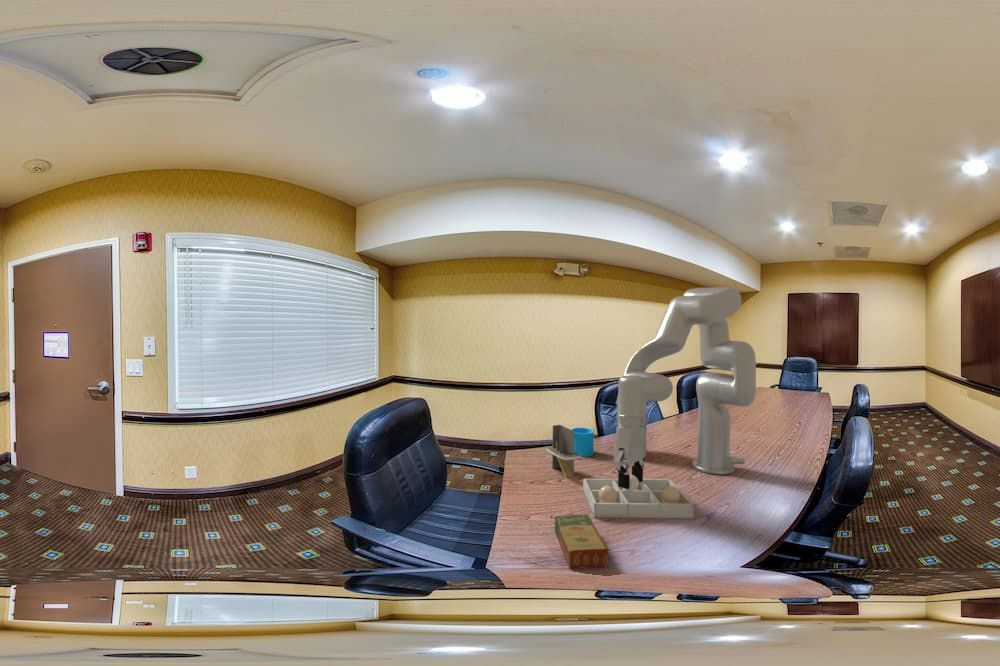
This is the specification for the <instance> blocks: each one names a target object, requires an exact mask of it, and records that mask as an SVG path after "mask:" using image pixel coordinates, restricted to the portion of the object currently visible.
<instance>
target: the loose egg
mask: <svg viewBox="0 0 1000 666" xmlns="http://www.w3.org/2000/svg"><path fill="white" fill-rule="evenodd" d="M628 474H629V473H628ZM629 475H630V488H629V489H625V488H623V490H638V487H639V480H638V479H637V477H636V476H634V475H632V473H631V474H629Z"/></svg>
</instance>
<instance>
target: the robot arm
mask: <svg viewBox="0 0 1000 666" xmlns="http://www.w3.org/2000/svg"><path fill="white" fill-rule="evenodd" d="M741 305H742V296H741V294H740V292H739V290H737V289H736V288H734V287H730V286H723V287H722V286H721V287H719V286H717V287H715V286H714V287H694V288H690V289H687V290H686V291H684V293H683V294H682V295H681V296H679V295H678V296H675V297H674V298H672V299H671V300H670V302H669V303H668V305H667V307H666V310H665V312H664V315H663V317H662V319H661V321H660V323H659V326H658V329H657V330H656V332H655V333H656V334H655V336H654V337H653V338H652V339H651V340H650V341H647V342H646V343H645V344H644V345H642V347H640V348H639V349H638V350H637V351H636V352H635V353H634V354H633V355H632V357H631V358H630V360H629V362H628V364H627V365H626V368H625V371H624V373H623V376H621V377H619V378H618V379H619V380H618V393H617V396H618V407H617V410H618V426H617V430H616V429H615V438H614V448H613V460H614V461H613V465H614V467H615V468H616V472H617V475H618V476H617V479H618V486H619V487H621V488H625V489H629V488H630V475H629V472H630V468H631V475H634V476H636V477H637V479H638V480H639V482H643V479H644V467H645V461H646V456H647V454H648V451H647V450H648V449H647V426H646V412H647V407H648V405H647V401H648V402H663V401H666V400H667V399H669V397H671V396H672V393H673V389H674V388H673V387H674V386H673V383H672V381H671V380H670V378H668V376H665V375H663V374H658V373H653V372H647V369H648V367H650V365H652V364H653V363H655V362H657V361H659V360H661V359H664V358H666V357H668V356H672V355H674V354H677V353H679V352H681V351H682V350H684V348H685V345H686V341H687V340H688V338H689V335H690V333H691V330H692V328H693V326H694V325H696V326H697V325H698V327H699V350H700V351H699V352H700V353H699V354H700V361H701V364H702V366H704V367H706V368H707V369H713V370H719V371H728V372H732V373H733V374H729V373H722V372H716V371H715V372H714V371H709V372H704V373H702V374H699V376H698V378H697V379H696V383H695V386H696V387H695V391H696V397H697V402H698V420H697V421H698V425H697V451H696V452H697V453H696V455H697V456H696V457H697V458H696V459H694V460H692V462H691V465H692V467H693V468H694V469H695V470H698V471H699V472H703V473H707V474H712V475H721V476H722V475H731V474H733V473H734V472H735V465H736V464H737V465H744V464H745V462H746V460H745V458H744V457H737V456H736V455H735V456H731V455H730V448H731V444H730V443H731V424H732V423H731V420H732V419H731V414H730V411H729V408H728V406H727V405H730V406H734V407H741V408H746V407H749V406H751V405H752V404H753V403H754V402H755V399H756V393H757V368H756V367H757V364H756V362H757V361H756V353H755V350H754V348H753V347H752V345H751V344H749V343H748V342H745V341H740V340H731V338H730V331H729V329H730V327H729V322H728V320H727V319H728V318H730V317H732V316H734V315H735V314H736V313H738V311H739V309H740V308H741ZM645 428H646V429H645ZM646 449H647V450H646ZM625 461H626V462H625ZM624 465H625V467H624Z"/></svg>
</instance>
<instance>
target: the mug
mask: <svg viewBox="0 0 1000 666" xmlns="http://www.w3.org/2000/svg"><path fill="white" fill-rule="evenodd" d="M570 430H572V431H574V452H576V453H578V454H580V457H592V456H593V455H594V448H595V447H594V445H595V444H594V443H595V442H594V441H595V440H594V438H595V437H594V436H595V434H594V433H595V431H594V430H593V428H592V429H591V428H588V427H574V428H571V429H570Z"/></svg>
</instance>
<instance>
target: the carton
mask: <svg viewBox="0 0 1000 666" xmlns="http://www.w3.org/2000/svg"><path fill="white" fill-rule="evenodd" d="M554 533H555V536H556V538H557V539H558V542H559V546H560V549H561V551H562V553H563V555H564V556H563V557H564V558H565V561H566V563H567V566H568V569H581V568H580V567H587V568H586V569H589V568H590V569H591V568H592V569H593V568H594V567H598V568H606V567H605V566H607V567H608V565H609V564H608V563H609V548H608V547H607V545H606V543H605V542H604V540H603V538H602V537H601V535H600V533H599V531H598V529H597V528H596V526H595V524H594V522H593V520H592V519H591V517H590V516H589V514H572V515H570V514H569V515H555V517H554ZM588 567H589V568H588Z"/></svg>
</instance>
